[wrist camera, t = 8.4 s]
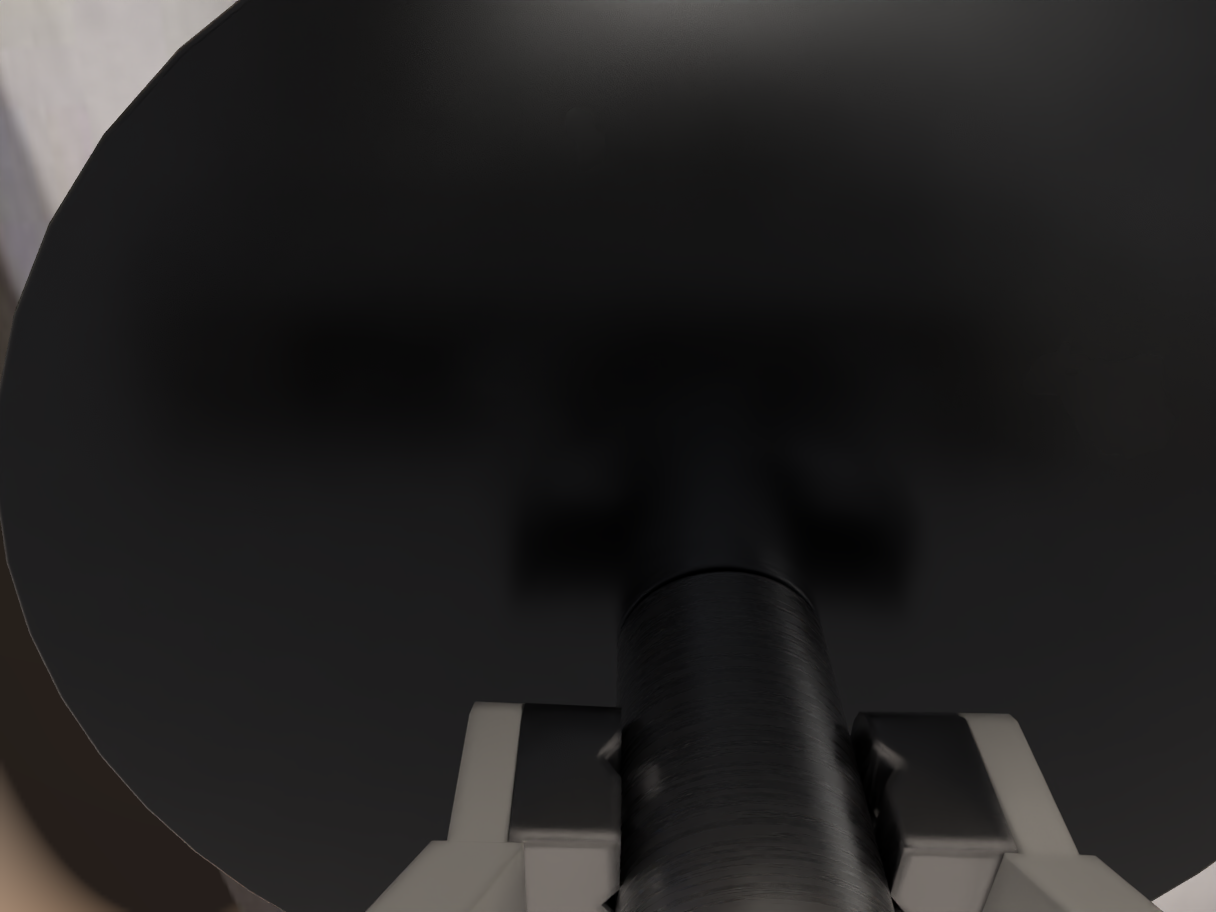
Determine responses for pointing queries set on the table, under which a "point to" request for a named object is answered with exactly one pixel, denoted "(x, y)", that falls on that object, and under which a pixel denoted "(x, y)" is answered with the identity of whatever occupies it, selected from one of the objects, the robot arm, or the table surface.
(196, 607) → the lid
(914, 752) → the robot arm
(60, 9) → the table surface
